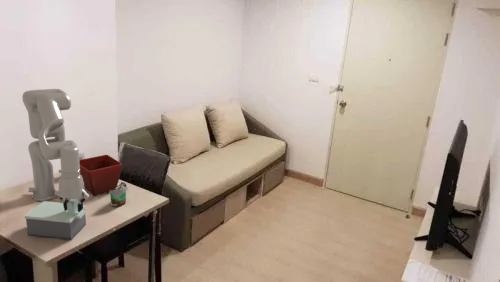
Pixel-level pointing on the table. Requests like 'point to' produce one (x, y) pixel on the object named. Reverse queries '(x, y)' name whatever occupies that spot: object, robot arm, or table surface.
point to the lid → (56, 211)
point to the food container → (118, 195)
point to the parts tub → (55, 228)
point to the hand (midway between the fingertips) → (73, 209)
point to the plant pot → (100, 174)
